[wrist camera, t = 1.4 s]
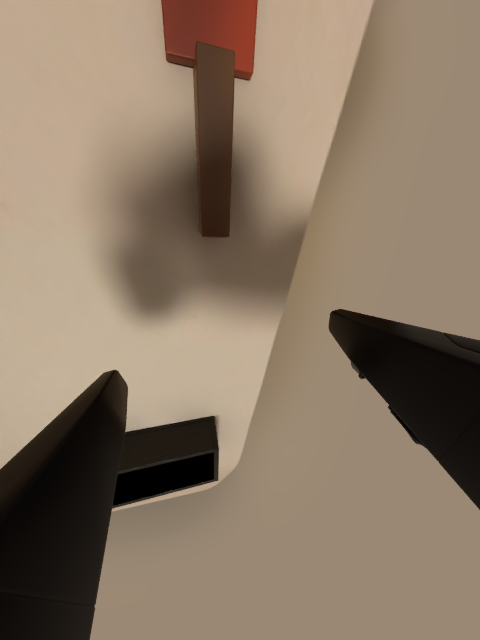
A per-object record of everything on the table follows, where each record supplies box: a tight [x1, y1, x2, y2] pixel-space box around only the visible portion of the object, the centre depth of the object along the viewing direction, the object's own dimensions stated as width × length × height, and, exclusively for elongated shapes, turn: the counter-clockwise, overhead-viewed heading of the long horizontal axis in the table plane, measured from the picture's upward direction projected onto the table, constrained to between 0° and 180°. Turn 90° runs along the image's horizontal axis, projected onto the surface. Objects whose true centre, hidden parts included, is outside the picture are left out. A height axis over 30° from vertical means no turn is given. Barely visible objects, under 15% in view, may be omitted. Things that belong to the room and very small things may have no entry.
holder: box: [112, 416, 219, 508], centre depth 26 cm, size 18×8×4 cm, turn 86°
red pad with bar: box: [161, 0, 258, 237], centre depth 12 cm, size 5×15×2 cm, turn 176°
